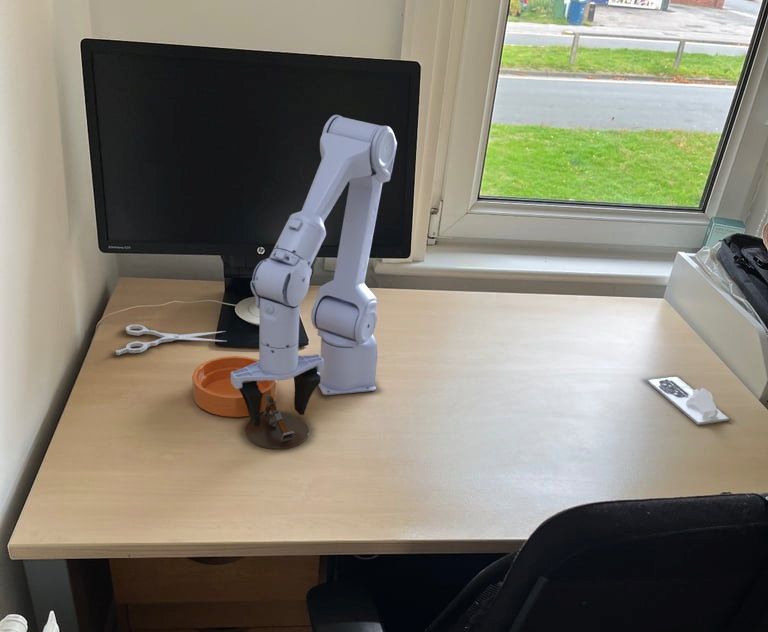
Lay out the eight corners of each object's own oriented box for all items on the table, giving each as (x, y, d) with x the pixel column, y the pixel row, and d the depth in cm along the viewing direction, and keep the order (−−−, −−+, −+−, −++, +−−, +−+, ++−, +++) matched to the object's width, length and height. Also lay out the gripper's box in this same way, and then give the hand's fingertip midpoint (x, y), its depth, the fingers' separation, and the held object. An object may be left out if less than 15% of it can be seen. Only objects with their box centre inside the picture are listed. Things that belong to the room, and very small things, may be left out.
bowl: (267, 373, 145) (267, 353, 143) (284, 414, 134) (285, 393, 132) (188, 380, 141) (187, 359, 138) (199, 422, 130) (199, 401, 128)
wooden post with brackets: (267, 407, 133) (273, 391, 130) (288, 447, 130) (294, 431, 126) (257, 410, 132) (263, 393, 129) (278, 450, 129) (284, 434, 126)
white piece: (728, 420, 146) (736, 398, 143) (697, 424, 144) (705, 402, 141) (676, 378, 157) (683, 357, 155) (647, 381, 155) (653, 360, 153)
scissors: (117, 324, 153) (226, 321, 158) (117, 328, 154) (226, 325, 158) (115, 352, 145) (231, 347, 149) (116, 355, 145) (231, 351, 150)
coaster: (300, 411, 135) (300, 409, 135) (315, 445, 128) (315, 443, 127) (239, 417, 132) (239, 415, 132) (251, 453, 125) (251, 451, 124)
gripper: (310, 320, 127) (307, 395, 135) (221, 336, 120) (223, 414, 128) (332, 340, 122) (327, 416, 130) (241, 357, 116) (241, 437, 123)
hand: (277, 417), depth 129 cm, fingers open, 7 cm apart
